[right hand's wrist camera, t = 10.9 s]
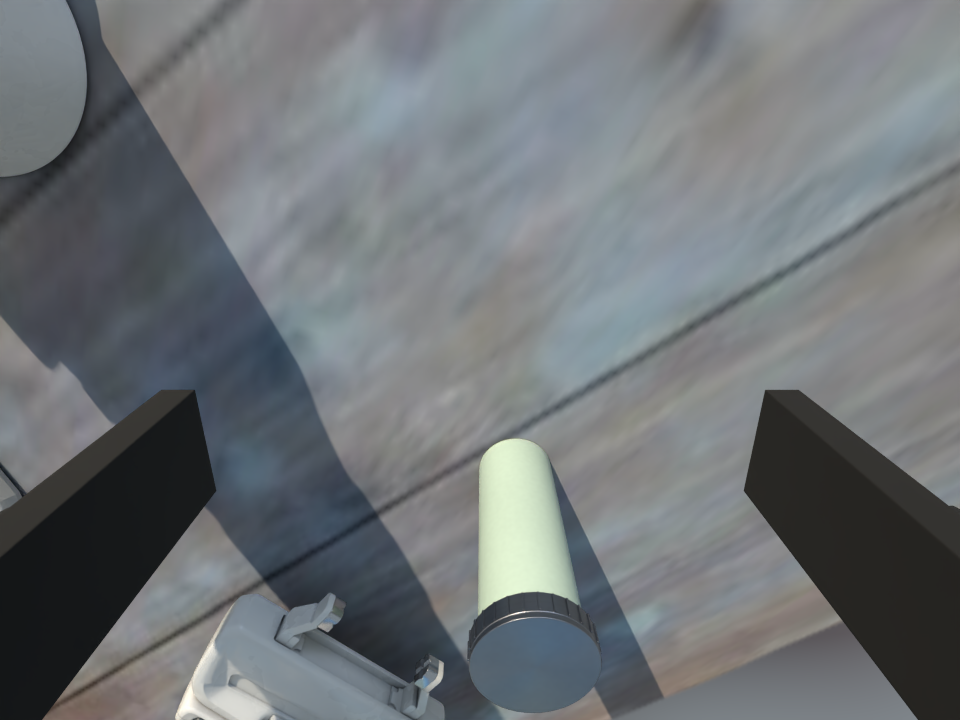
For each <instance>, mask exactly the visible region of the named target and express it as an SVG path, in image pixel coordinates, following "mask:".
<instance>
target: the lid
mask: <svg viewBox="0 0 960 720" xmlns="http://www.w3.org/2000/svg"><path fill="white" fill-rule="evenodd" d="M467 661H469V673H470V676H471V680H472V682H473V684H474V686H475V687H476V688H477V690H478V691H479V692H480V693H481V694H482V695H483V696H484V697H485V698H486V699H488V700H489V701H491V702H492V703H494V704H496V705H498V706H500V707H503V708H506V709H509V710H513V711H517V712H524V713H542V712H549V711H554V710H558V709H561V708H564V707H566V706H569V705H571V704H573V703H575V702H576V701H578V700H580V699H581V698H582V697H584V696H585V695H586V694H587V693H588V692H589V691H590V690H591V689H592V688H593V686H594V685H595V683H596V682H597V680H598V678H599V675H600V671H601V663H602V660H601V648H600V644H599V640H598V636H597V631H596V627H595V624H593V623H592V621H591V619H590V616H589V614H588V613H587V614H586V612H585V611H584V610H583V609H582V608H581V607H580V605H579V604H578V605H577V604H575V603H574V602H572V601H570V600H569V599H568V598H564V597H562V596H559V595H555V594H554V593H552V594H551V593H545V592H539V591H537V592H524V593H523V592H521V593H517V594H513V595H510V596H506V597H504V598H502V599H500V600H498V601H496V602H493V603H492V604H491V605H489V606H488V607H487V608H486V609H485V610H482V613H481V614H480V615H479V616H478V617H477V619H476V620H474V624H473V626H472V629H471V630H469V641H468V655H467Z"/></svg>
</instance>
